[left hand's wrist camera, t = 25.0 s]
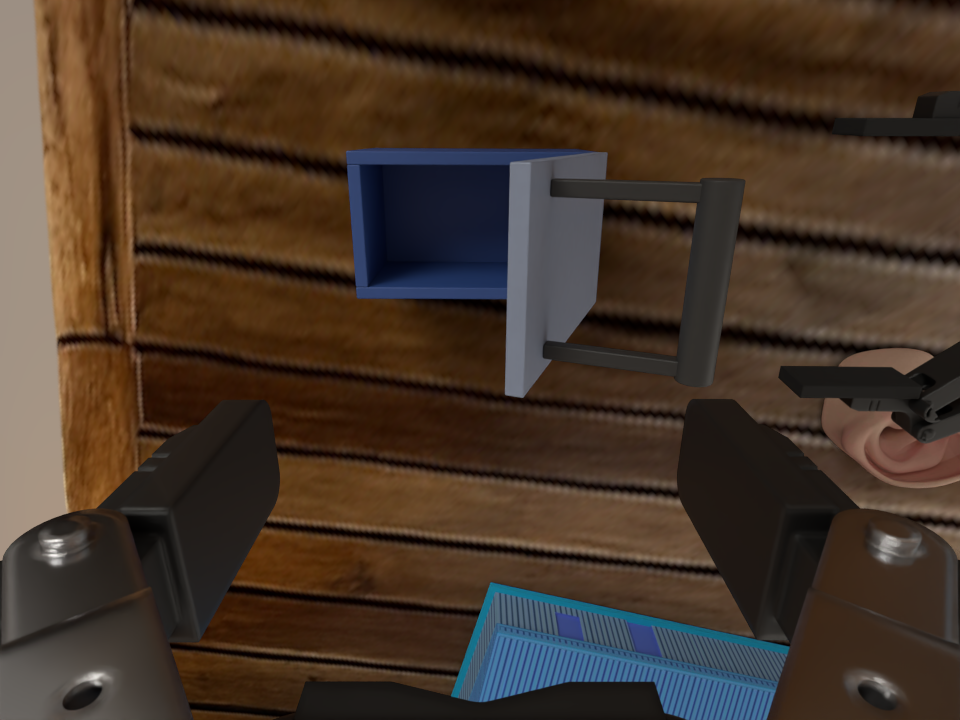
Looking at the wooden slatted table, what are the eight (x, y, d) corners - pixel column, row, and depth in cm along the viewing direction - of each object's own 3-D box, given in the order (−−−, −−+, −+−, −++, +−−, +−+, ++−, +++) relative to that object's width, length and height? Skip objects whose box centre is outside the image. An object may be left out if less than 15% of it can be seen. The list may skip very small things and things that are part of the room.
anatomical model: (836, 386, 46) (988, 337, 45) (810, 367, 50) (949, 322, 48) (859, 517, 50) (998, 476, 49) (833, 491, 54) (961, 452, 53)
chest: (379, 268, 47) (356, 298, 38) (372, 148, 44) (345, 150, 35) (568, 269, 47) (588, 299, 38) (575, 149, 44) (599, 152, 35)
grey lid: (504, 395, 24) (709, 428, 21) (509, 161, 21) (752, 166, 18) (583, 301, 38) (713, 314, 35) (594, 152, 35) (738, 154, 32)
